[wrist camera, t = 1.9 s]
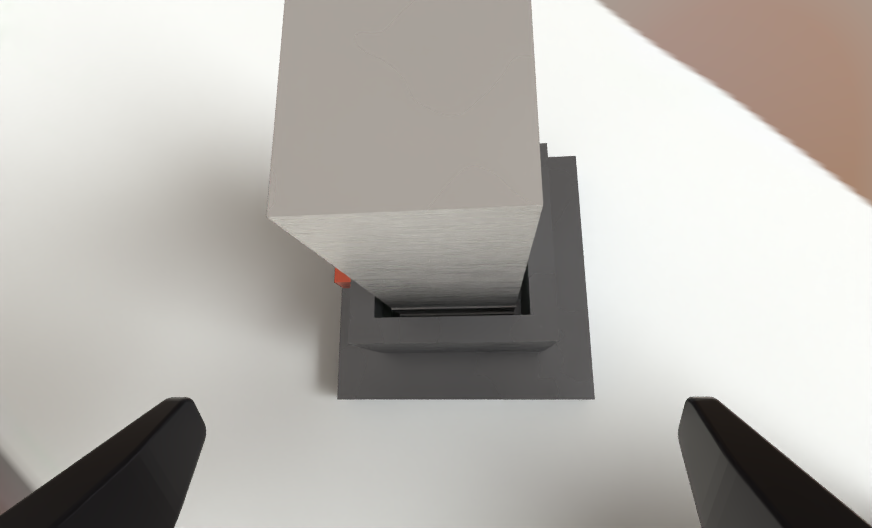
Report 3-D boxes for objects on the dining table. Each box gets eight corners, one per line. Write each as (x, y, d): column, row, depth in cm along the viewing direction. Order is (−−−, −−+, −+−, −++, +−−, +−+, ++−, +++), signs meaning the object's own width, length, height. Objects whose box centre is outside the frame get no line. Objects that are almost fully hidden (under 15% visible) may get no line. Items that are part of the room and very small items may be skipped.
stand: (588, 398, 19) (628, 404, 14) (346, 398, 21) (288, 404, 15) (571, 168, 22) (599, 90, 16) (354, 179, 23) (307, 110, 17)
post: (512, 322, 19) (547, 208, 7) (410, 324, 20) (262, 220, 7) (508, 223, 20) (532, -38, 8) (411, 227, 21) (282, -13, 8)
